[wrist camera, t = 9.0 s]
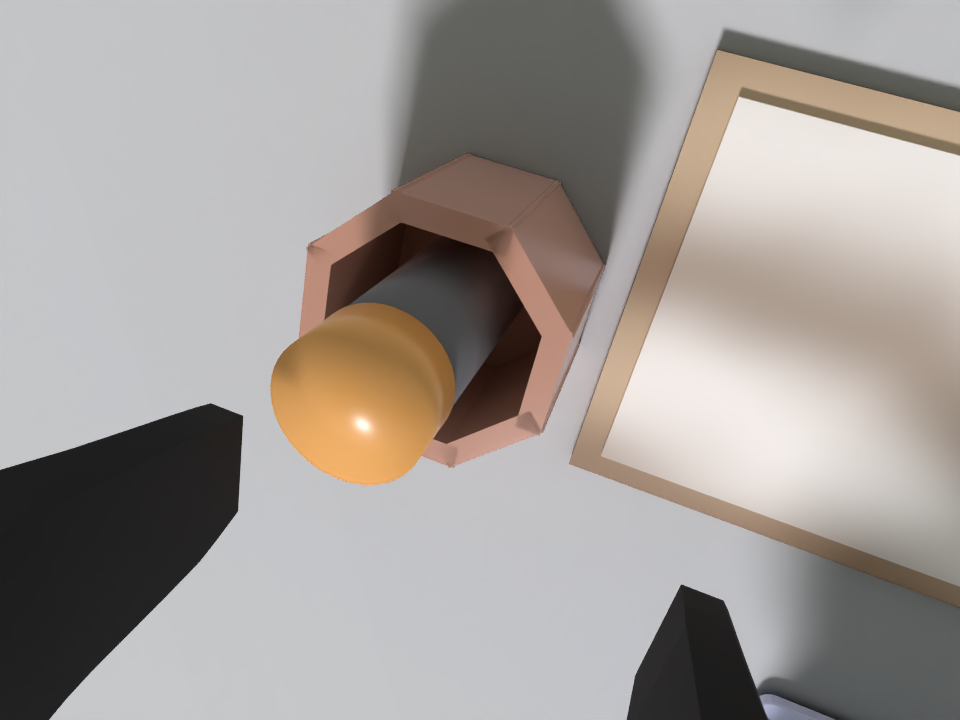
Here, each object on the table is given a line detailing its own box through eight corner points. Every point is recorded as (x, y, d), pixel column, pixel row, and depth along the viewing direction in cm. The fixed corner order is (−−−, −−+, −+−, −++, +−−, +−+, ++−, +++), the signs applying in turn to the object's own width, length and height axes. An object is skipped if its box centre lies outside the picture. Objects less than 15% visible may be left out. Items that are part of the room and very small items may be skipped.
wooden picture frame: (1082, 644, 19) (1092, 661, 19) (571, 456, 21) (567, 467, 21) (1477, 244, 13) (1508, 253, 13) (717, 49, 16) (717, 49, 15)
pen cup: (561, 399, 21) (521, 495, 16) (373, 333, 22) (290, 407, 17) (628, 200, 18) (601, 253, 13) (405, 133, 19) (314, 163, 14)
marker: (519, 340, 20) (412, 507, 13) (420, 307, 20) (266, 450, 13) (546, 239, 18) (441, 367, 11) (439, 206, 19) (275, 309, 12)
